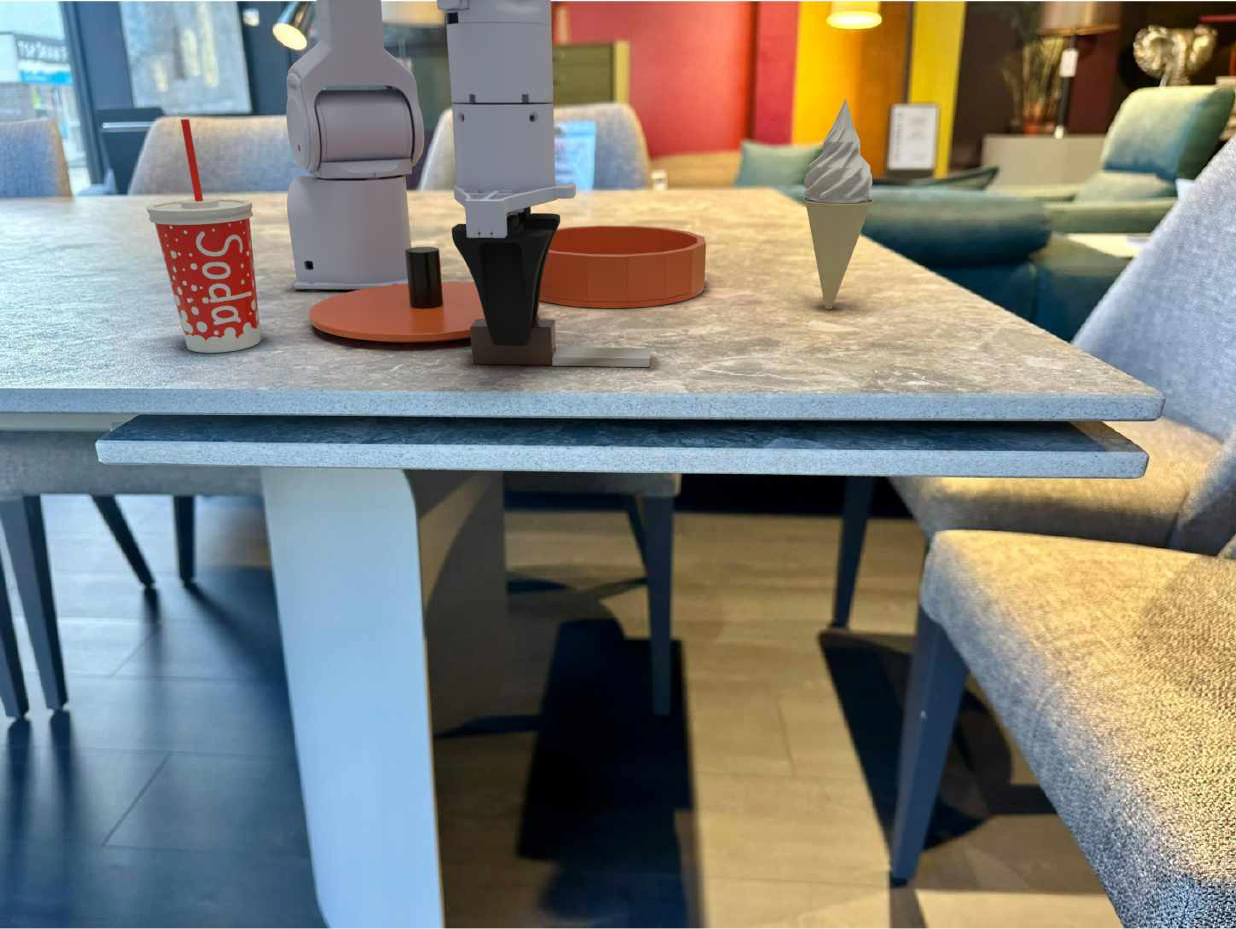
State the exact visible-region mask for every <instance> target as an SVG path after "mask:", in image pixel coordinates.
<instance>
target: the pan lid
mask: <svg viewBox="0 0 1236 929" xmlns="http://www.w3.org/2000/svg"><path fill="white" fill-rule="evenodd" d="M405 257H406V268H407V279H408V284H396V285H387V286H380V287H372V288H367V289H361V290H352V291H348V292H343V293H340V294H336V295H333V296H331V297H330V296H329V297H328V298H325V299H323V300H320V301H319V302H317V303H316V304H315V305H313V306H312V307H311V308H310V309H309V313H308V317H309V321H310V323H311V325H312V326H313V327H314V328H315V329H317V330H319V331H321V332H323V333H327V334H330V335H334V336H338V337H343V338H347V339H354V340H364V341H371V342H380V343H393V344H427V343H443V342H452V341H459V340H467V339H471V334H470V326H471V325H472V324H473V323H474V321H475V320H476V319H485V317H484V313H483V309H482V305H481V302H480V298H479V294H478V291H477V288H476V285H475V282H468V281H467V282H466V281H465V282H464V281H443V279H442V267H441V253H440V249H439V247H434V246H415V247H414V246H413V247H412V248H409V249H406V250H405ZM540 308H541V307H540V303H539V306H538V312H537V315H538V314H539V313H540Z"/></svg>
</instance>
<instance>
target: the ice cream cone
mask: <svg viewBox="0 0 1236 929" xmlns="http://www.w3.org/2000/svg"><path fill="white" fill-rule="evenodd" d="M834 120H835V121H834V122H833V124H832V126H831V128H830V130H829V131H828V133H827V135H826V136H825V138H824V140H823V144H822V150H821V154H820V155H819V156H818V157H817V158H815V159H814V160H813V161H812V162H811V163H810V164H809V165H808V172H807V173H806V174H805V177H804V180H803V184H804V187H805V190H804V191H803V194H804V195H805V196H806V197H805V198H803V202H805V208H806V214H807V218H808V224H809V228H810V234H811V239H812V244H813V245H812V246H813V251H814V256H815V262H816V268H817V272H818V278H819V283H820V289H821V294H822V298H823V304H824V309H826V310H832V309H833V306H834V303H835V301H836V298H837V295H838V293H839V290H840V289H841V286H842V283H843V279H844V277H845V274H846V272H847V269H848V266H849V264H850V261H851V259H852V257H853V253H854V250H855V248H856V245H857V243H858V240H859V238H860V235H861V233H862V229H863V227H864V224H865V221H866V219H867V216H868V213H869V210H870V208H871V205H872V204H873V203H874V200H873V199H870V194H871V189H872V186H873V174H872V173H871V165H870V164H869V162H867V161H866V160H865V158H863V157H864V156H862V155H861V140H860V138H859V135H858V133H857V130H856V128H855V125H854V121H853V118H852V115H851V112H850V108H849V105H848V100H847V98H845V99H844V101H843V103H842V106H841V108H840V110H839V112H838V113H837V116H836V118H835V119H834Z"/></svg>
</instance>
